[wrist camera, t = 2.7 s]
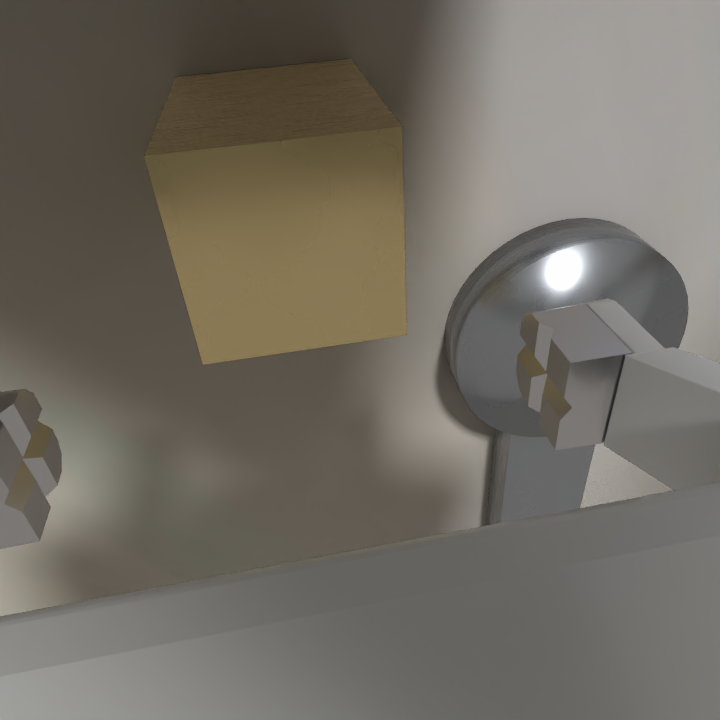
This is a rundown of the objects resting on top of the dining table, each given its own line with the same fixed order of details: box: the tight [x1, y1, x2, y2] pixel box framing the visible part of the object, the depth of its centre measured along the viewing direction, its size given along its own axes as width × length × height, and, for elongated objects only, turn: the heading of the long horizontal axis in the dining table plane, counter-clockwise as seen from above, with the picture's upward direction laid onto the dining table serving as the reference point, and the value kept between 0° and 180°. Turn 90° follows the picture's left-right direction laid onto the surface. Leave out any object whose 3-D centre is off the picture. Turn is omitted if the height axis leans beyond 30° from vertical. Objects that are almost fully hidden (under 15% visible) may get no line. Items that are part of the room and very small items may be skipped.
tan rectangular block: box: [144, 59, 407, 365], centre depth 16 cm, size 5×5×7 cm
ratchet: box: [444, 218, 688, 526], centre depth 28 cm, size 26×9×5 cm, turn 4°
